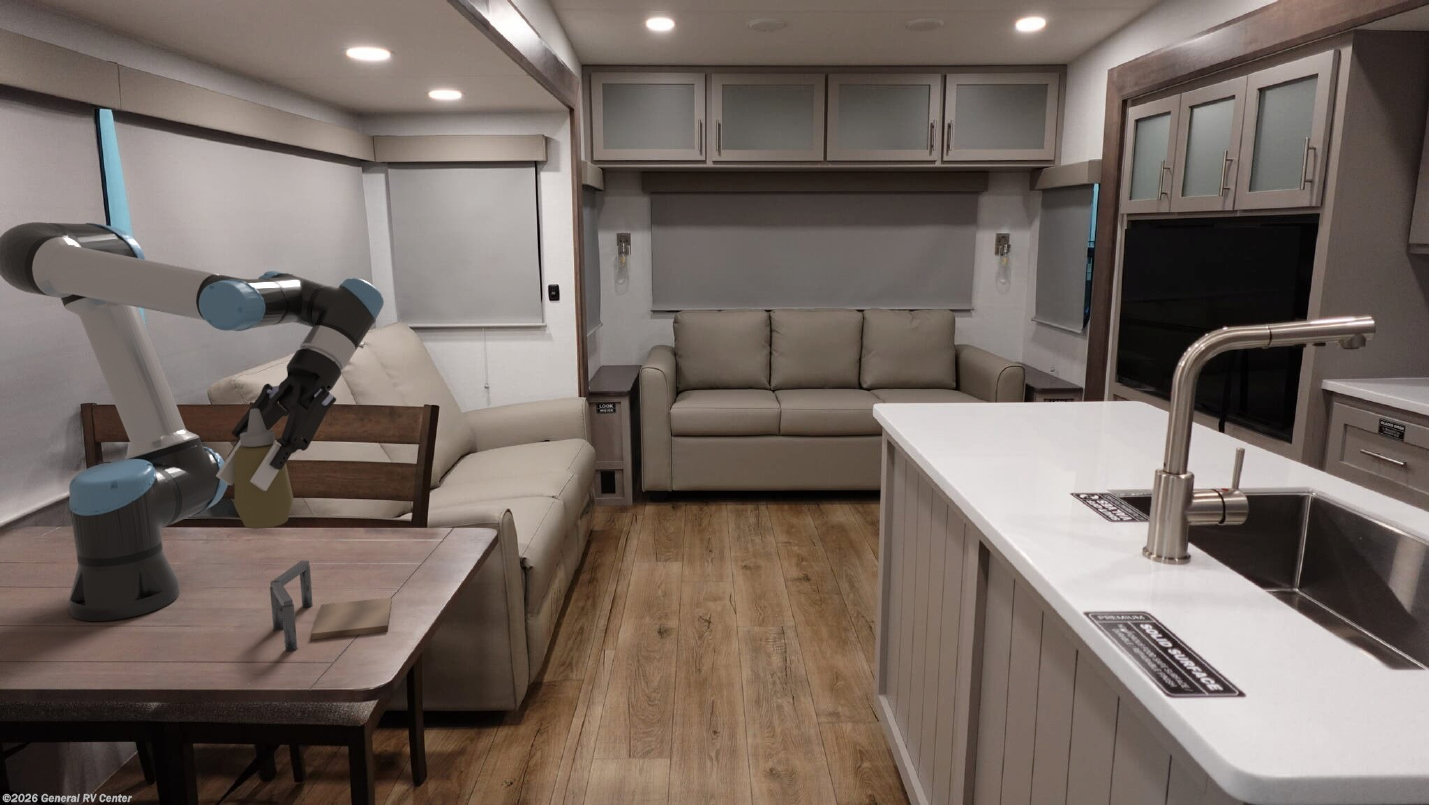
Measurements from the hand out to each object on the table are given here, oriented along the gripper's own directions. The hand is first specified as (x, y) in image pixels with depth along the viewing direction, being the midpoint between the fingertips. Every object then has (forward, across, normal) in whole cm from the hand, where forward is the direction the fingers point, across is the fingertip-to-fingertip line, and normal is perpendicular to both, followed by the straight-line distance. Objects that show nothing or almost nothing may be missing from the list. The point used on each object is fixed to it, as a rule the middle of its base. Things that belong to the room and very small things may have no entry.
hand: (240, 483), depth 124 cm
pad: (+10, -8, -26) cm, 29 cm away
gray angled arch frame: (+14, 0, -21) cm, 26 cm away
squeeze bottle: (+3, 0, -8) cm, 8 cm away
